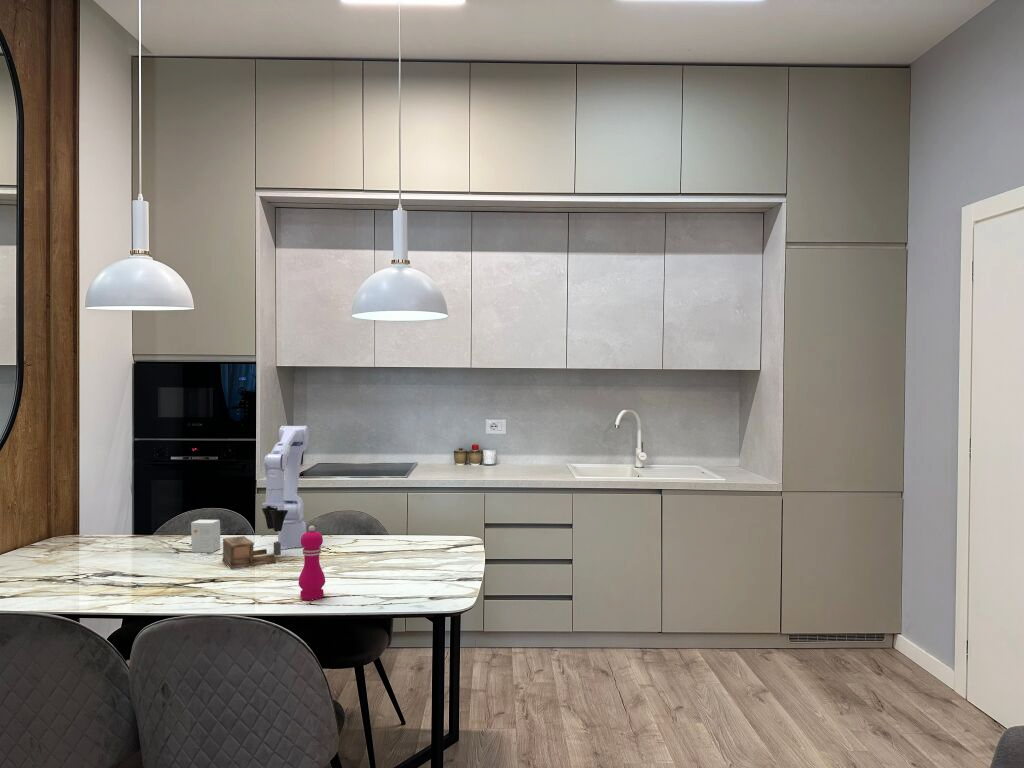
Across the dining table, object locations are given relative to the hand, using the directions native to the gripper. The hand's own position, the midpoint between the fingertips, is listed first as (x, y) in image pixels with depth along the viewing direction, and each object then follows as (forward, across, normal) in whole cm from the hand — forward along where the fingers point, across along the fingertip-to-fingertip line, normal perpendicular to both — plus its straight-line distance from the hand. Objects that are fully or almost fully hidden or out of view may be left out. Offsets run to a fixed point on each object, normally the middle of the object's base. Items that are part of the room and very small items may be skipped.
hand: (274, 529), depth 253 cm
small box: (+9, -25, -16) cm, 31 cm away
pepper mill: (+13, +48, -4) cm, 50 cm away
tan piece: (+9, 0, -6) cm, 11 cm away
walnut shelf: (+10, 0, -8) cm, 13 cm away
